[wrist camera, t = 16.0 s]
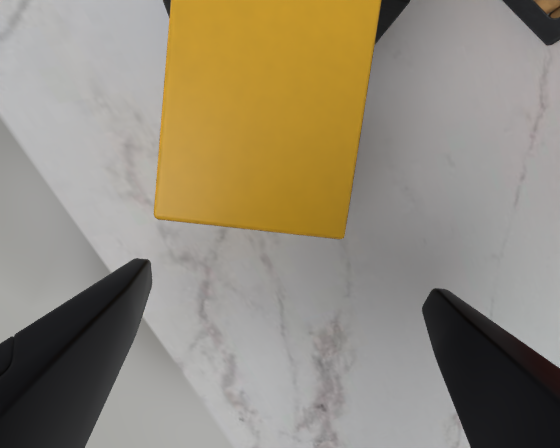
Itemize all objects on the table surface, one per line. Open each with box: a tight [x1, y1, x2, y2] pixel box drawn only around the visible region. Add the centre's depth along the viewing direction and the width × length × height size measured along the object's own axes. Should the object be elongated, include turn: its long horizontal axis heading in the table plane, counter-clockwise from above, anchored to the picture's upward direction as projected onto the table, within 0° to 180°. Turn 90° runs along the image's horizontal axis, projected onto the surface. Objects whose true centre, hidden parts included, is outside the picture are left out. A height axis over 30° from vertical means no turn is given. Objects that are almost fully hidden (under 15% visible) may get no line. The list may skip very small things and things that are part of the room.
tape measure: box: [154, 0, 381, 239], centre depth 12 cm, size 7×4×12 cm, turn 173°
